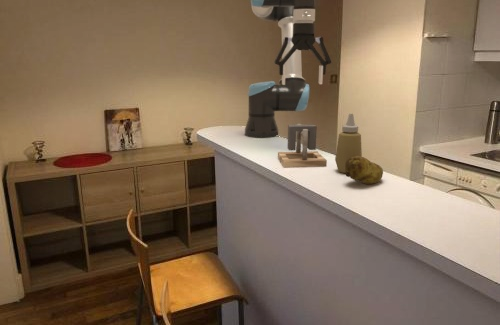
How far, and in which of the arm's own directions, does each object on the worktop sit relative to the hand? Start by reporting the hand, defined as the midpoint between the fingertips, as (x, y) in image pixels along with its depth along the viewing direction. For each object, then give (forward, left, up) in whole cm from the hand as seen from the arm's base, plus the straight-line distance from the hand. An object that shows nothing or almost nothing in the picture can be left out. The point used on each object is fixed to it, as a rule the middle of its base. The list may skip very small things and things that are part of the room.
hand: (301, 84), depth 150 cm
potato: (+42, +10, -25) cm, 49 cm away
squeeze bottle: (+30, +9, -25) cm, 40 cm away
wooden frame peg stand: (+17, -3, -25) cm, 30 cm away
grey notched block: (+17, -3, -20) cm, 26 cm away
